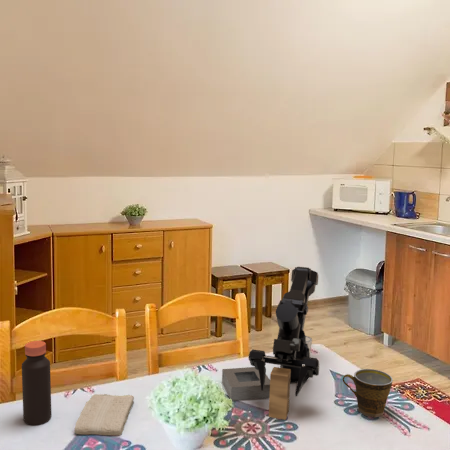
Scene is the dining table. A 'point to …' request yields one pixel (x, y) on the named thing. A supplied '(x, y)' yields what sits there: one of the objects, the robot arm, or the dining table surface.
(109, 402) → the washcloth
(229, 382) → the socket block
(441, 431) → the dining table surface
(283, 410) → the oak peg
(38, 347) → the bottle
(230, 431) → the dining table surface
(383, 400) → the ceramic cup
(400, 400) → the dining table surface
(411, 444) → the dining table surface
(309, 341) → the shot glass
